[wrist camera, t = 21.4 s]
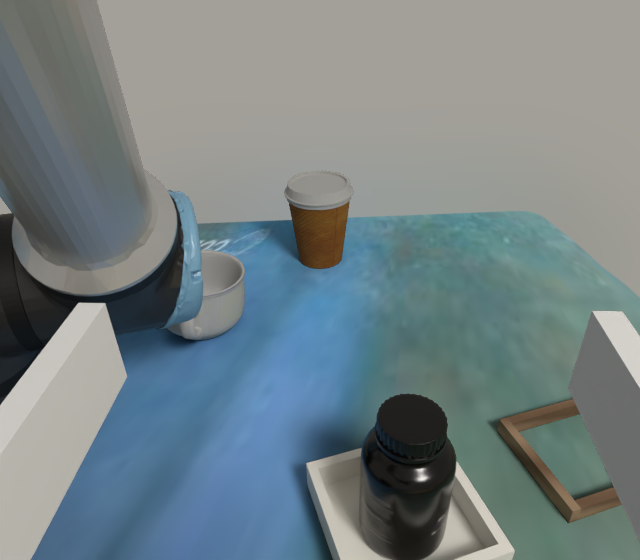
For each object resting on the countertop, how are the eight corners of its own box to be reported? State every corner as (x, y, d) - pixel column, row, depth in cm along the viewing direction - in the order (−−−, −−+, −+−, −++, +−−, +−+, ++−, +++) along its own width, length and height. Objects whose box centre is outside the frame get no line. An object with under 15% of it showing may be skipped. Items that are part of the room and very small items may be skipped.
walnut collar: (497, 430, 51) (499, 419, 50) (584, 405, 53) (588, 394, 53) (568, 523, 43) (573, 511, 42) (668, 488, 45) (674, 476, 44)
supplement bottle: (457, 559, 40) (479, 453, 34) (368, 572, 39) (372, 466, 33) (429, 481, 46) (444, 378, 39) (351, 491, 45) (352, 388, 39)
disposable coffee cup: (286, 245, 83) (281, 172, 76) (347, 240, 84) (347, 167, 77) (291, 277, 75) (286, 199, 68) (358, 271, 76) (359, 193, 69)
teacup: (181, 296, 72) (171, 244, 67) (259, 302, 70) (254, 249, 66) (135, 366, 60) (119, 308, 56) (228, 374, 58) (219, 316, 54)
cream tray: (307, 485, 46) (306, 463, 45) (431, 449, 49) (434, 427, 48) (356, 628, 37) (357, 606, 35) (508, 573, 40) (514, 550, 38)
